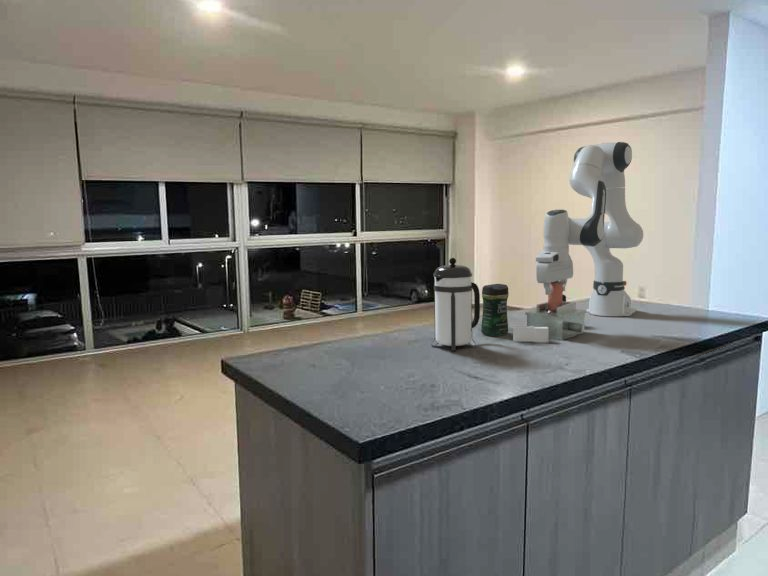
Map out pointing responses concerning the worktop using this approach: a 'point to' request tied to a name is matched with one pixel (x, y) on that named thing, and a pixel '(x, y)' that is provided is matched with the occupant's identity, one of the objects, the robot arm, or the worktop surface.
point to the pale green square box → (558, 320)
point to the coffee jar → (494, 310)
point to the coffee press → (454, 305)
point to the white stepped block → (530, 333)
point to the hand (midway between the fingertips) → (555, 293)
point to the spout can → (555, 295)
